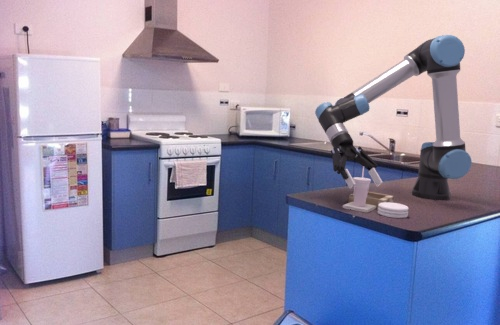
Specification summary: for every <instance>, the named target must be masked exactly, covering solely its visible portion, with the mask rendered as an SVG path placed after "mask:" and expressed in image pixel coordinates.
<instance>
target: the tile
mask: <svg viewBox="0 0 500 325" xmlns="http://www.w3.org/2000/svg"><path fill="white" fill-rule="evenodd" d="M342 208H343V209H345V210H350V209H351V211H356V212H361V213H370V212H372V211H375V210H376V209H377V208H376V206H374V205H369V204H365V206H364V207H359V206H355V205H354V202H350V203H345V204H342Z"/></svg>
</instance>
